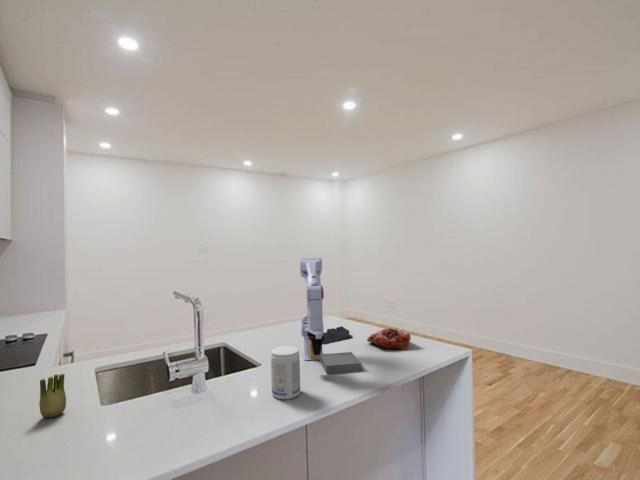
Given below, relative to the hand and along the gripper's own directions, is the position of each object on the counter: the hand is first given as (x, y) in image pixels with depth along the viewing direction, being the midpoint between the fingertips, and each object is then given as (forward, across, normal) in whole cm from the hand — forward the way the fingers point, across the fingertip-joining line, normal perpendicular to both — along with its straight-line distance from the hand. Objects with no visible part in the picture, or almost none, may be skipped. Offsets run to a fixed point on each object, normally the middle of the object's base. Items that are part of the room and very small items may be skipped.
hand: (315, 352), depth 130 cm
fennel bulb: (+8, +14, -82) cm, 83 cm away
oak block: (+2, 0, 0) cm, 2 cm away
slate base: (+8, -7, +11) cm, 15 cm away
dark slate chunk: (+9, -48, +17) cm, 51 cm away
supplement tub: (+8, +14, -13) cm, 21 cm away
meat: (+9, -29, +41) cm, 51 cm away
